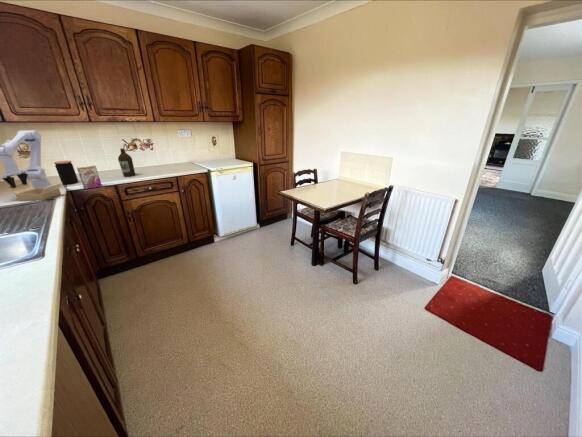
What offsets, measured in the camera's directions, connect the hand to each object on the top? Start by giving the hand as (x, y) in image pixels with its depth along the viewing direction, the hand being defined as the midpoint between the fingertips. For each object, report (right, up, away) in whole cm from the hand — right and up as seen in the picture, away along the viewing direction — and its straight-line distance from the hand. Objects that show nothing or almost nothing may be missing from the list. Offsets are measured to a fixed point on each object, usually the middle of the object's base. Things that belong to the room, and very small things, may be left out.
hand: (19, 186), depth 164 cm
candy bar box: (+27, +3, +27) cm, 39 cm away
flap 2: (+21, -1, +1) cm, 21 cm away
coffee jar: (-1, +7, +39) cm, 40 cm away
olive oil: (+33, +18, +63) cm, 73 cm away
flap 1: (0, -1, +1) cm, 1 cm away
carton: (+10, -8, +4) cm, 13 cm away
